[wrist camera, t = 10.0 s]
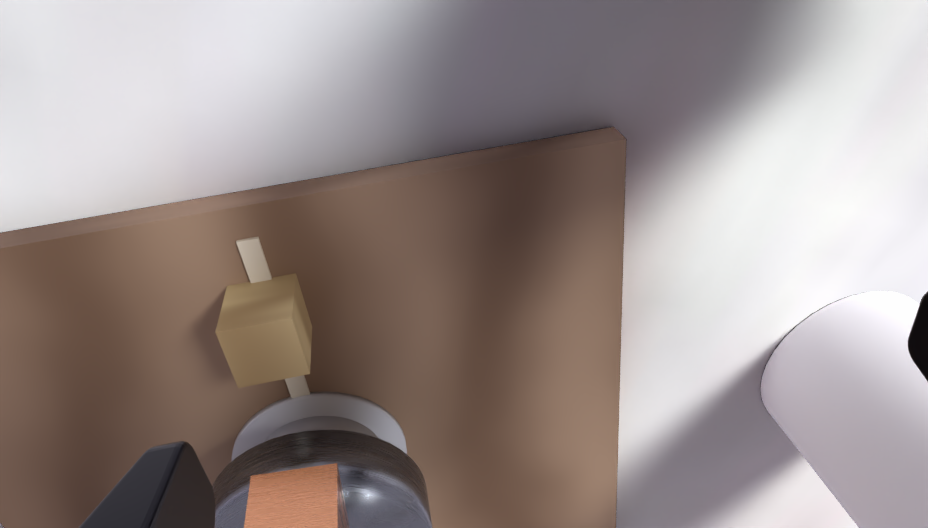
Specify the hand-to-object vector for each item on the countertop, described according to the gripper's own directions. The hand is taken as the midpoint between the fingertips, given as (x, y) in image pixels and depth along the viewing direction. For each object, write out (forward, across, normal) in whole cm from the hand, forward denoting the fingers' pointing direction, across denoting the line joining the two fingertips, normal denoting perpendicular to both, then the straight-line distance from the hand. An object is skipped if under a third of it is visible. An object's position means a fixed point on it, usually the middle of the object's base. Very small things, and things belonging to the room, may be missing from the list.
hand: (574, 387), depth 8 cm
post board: (+12, +6, +12) cm, 18 cm away
